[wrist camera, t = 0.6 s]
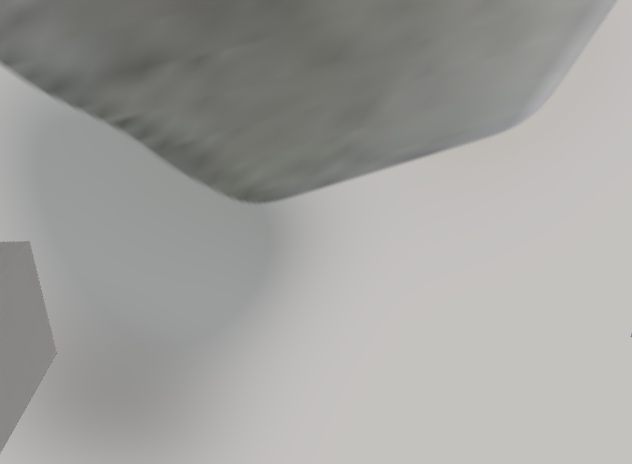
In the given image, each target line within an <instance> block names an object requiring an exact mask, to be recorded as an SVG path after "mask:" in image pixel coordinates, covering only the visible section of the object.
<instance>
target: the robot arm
mask: <svg viewBox="0 0 632 464" xmlns="http://www.w3.org/2000/svg"><path fill="white" fill-rule="evenodd" d="M631 337H632V335H631ZM56 354H57V352H56V348H55V344H54V340H53V336H52V331H51V327H50V324H49V319H48V315H47V311H46V307H45V303H44V299H43V295H42V290H41V286H40V282H39V278H38V274H37V270H36V266H35V262H34V258H33V254H32V249H31V245H30V242H0V453H1V451H2V449H3V448H4V446H5V444H6V442H7V441H8V439H9V437H10V435H11V434H12V432H13V430H14V428H15V426H16V425H17V423H18V421H19V419H20V418H21V416H22V414H23V412H24V411H25V409H26V407H27V405H28V404H29V402H30V400H31V398H32V396H33V394H34V393H35V391H36V389H37V388H38V386H39V384H40V382H41V381H42V379H43V377H44V375H45V374H46V372H47V370H48V368H49V366H50V365H51V363H52V361H53V359H54V357H55V356H56Z"/></svg>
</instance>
